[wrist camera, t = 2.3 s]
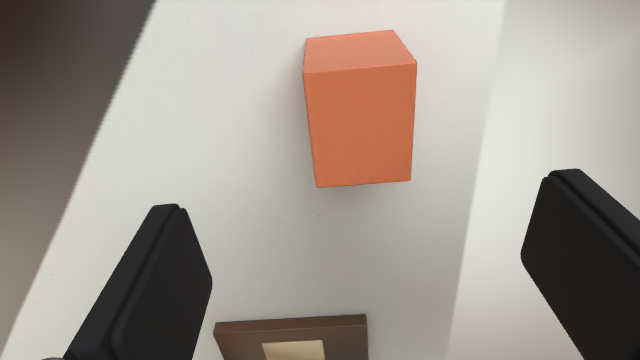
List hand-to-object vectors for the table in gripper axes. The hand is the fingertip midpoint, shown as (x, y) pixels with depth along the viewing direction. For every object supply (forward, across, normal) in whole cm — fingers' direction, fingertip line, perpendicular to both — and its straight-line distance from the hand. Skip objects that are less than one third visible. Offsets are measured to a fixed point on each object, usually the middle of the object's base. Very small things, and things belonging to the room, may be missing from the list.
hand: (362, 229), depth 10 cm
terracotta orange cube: (+10, -1, 0) cm, 10 cm away
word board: (+11, +5, +29) cm, 31 cm away
